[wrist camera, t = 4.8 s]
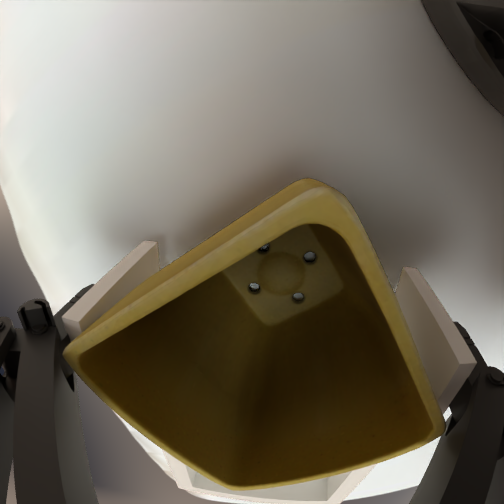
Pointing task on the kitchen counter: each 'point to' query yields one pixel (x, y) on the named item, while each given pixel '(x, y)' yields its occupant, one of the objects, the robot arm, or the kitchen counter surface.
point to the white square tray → (281, 498)
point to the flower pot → (267, 351)
